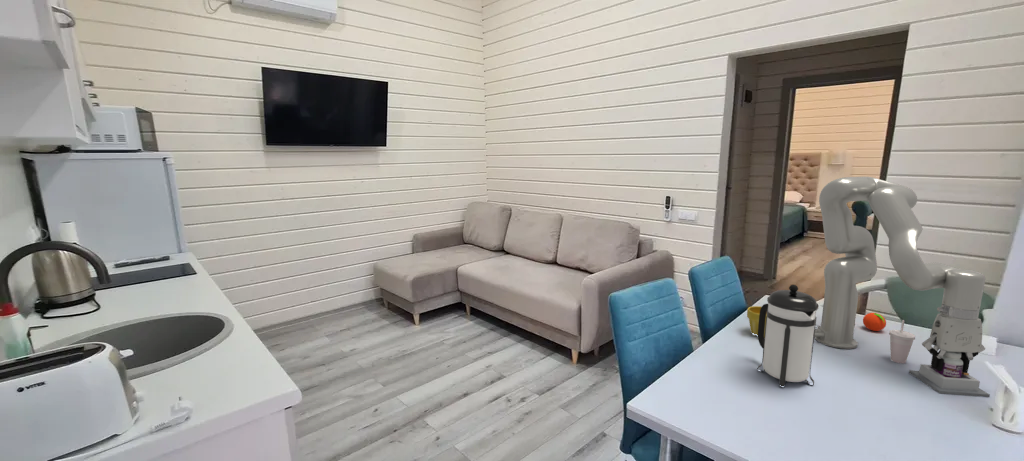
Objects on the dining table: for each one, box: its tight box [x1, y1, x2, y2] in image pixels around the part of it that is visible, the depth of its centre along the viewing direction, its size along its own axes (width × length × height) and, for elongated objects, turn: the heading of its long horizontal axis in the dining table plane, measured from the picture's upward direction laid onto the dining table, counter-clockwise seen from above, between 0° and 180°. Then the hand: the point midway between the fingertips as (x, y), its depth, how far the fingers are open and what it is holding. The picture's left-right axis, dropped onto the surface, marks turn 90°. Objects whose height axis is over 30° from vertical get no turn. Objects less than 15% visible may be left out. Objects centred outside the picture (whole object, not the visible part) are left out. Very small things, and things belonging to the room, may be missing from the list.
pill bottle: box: [935, 351, 963, 378], centre depth 124 cm, size 5×5×10 cm
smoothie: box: [888, 319, 916, 365], centre depth 138 cm, size 6×6×14 cm
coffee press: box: [756, 284, 820, 386], centre depth 129 cm, size 17×16×30 cm
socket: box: [908, 363, 991, 398], centre depth 125 cm, size 12×12×4 cm
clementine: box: [862, 312, 887, 332], centre depth 162 cm, size 8×7×7 cm
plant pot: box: [746, 305, 767, 336], centre depth 160 cm, size 10×10×10 cm
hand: (948, 369), depth 124 cm, fingers open, 5 cm apart
